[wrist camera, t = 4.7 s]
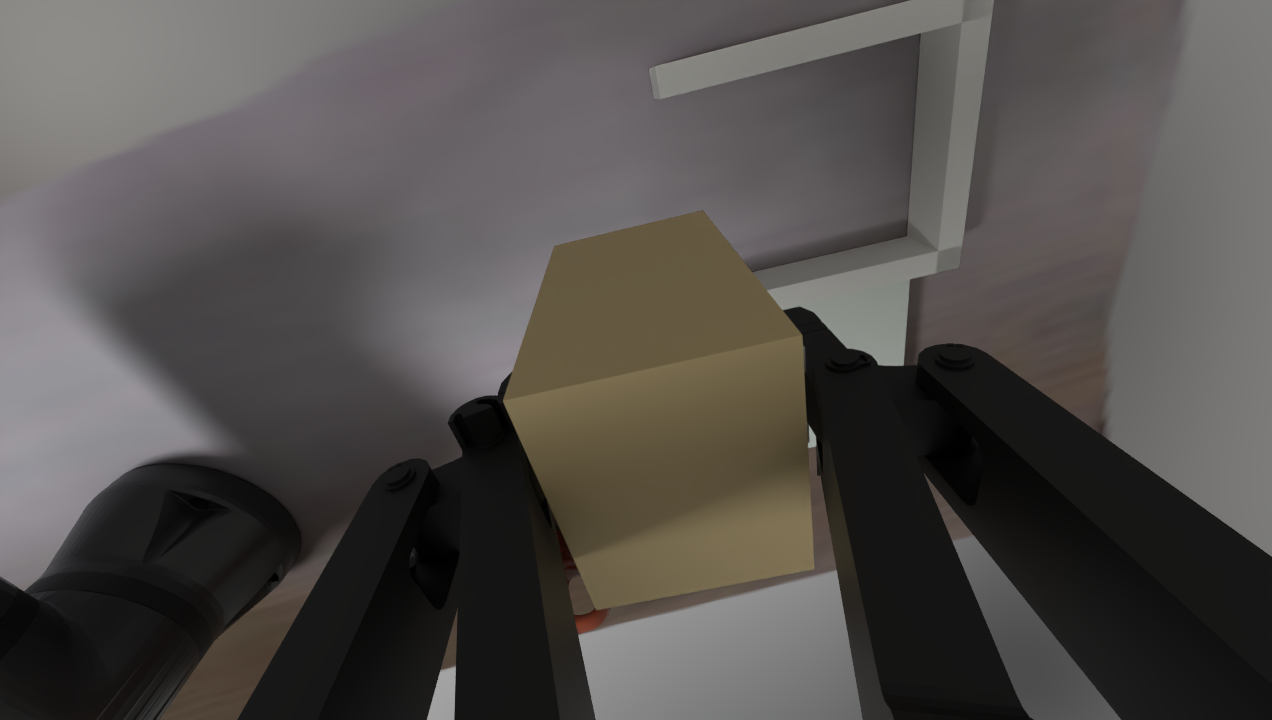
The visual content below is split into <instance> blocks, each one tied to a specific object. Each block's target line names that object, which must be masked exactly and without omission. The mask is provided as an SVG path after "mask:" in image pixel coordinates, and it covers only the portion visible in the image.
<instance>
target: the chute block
mask: <svg viewBox="0 0 1272 720" xmlns="http://www.w3.org/2000/svg"><path fill="white" fill-rule="evenodd" d="M503 403H504V405H505V407H506V410H507V412H508V414H509V416H510V418H511V421H512V423H513V425H514V427H515V430H516V432H517V434H518V436H519V439H520V441H521V443H522V445H523V447H524V450H525V452H526V454H527V456H528V459H529V461H530V463H531V465H532V468H533V470H534V472H535V474H536V476H537V479H538V481H539V483H540V485H541V488H542V490H543V492H544V494H545V497H546V499H547V501H548V503H549V505H550V508H551V510H552V512H553V514H554V517H555V519H556V521H557V523H558V526H559V528H560V530H561V532H562V534H563V537H564V539H565V541H566V543H567V546H568V548H569V550H570V552H571V555H572V557H573V559H574V561H575V564H576V566H577V568H578V570H579V572H580V575H581V577H582V579H583V581H584V584H585V586H586V588H587V590H588V593H589V595H590V597H591V599H592V601H593V604H594V606H595V608H596V610H601V609H606V608H611V607H616V606H622V605H627V604H632V603H638V602H643V601H648V600H654V599H659V598H664V597H669V596H675V595H680V594H685V593H691V592H696V591H701V590H706V589H712V588H717V587H722V586H728V585H733V584H738V583H744V582H749V581H754V580H759V579H765V578H770V577H775V576H781V575H786V574H791V573H797V572H802V571H807V570H812V569H814V551H813V532H812V513H811V493H810V474H809V455H808V435H807V416H806V396H805V377H804V358H803V338H802V334H801V333H800V331H799V330H798V329H797V328H796V326H795V325H794V324H793V323H792V321H791V320H790V319H789V318H788V316H787V315H786V314H785V313H784V311H783V310H782V309H781V308H780V306H779V305H778V304H777V303H776V301H775V300H774V299H773V298H772V296H771V295H770V294H769V293H768V291H767V290H766V289H765V288H764V286H763V285H762V284H761V283H760V281H759V280H758V279H757V278H756V276H755V275H754V274H753V273H752V271H751V270H750V269H749V268H748V266H747V265H746V264H745V263H744V261H743V260H742V259H741V258H740V256H739V255H738V254H737V253H736V251H735V250H734V249H733V248H732V246H731V245H730V244H729V243H728V241H727V240H726V239H725V237H724V236H723V235H722V234H721V232H720V231H719V230H718V229H717V227H716V226H715V225H714V224H713V222H712V221H711V220H710V219H709V217H708V216H707V215H706V214H705V212H704V211H703V210H702V211H698V212H694V213H690V214H685V215H681V216H677V217H673V218H669V219H665V220H660V221H656V222H652V223H648V224H644V225H640V226H635V227H631V228H627V229H623V230H619V231H615V232H610V233H606V234H602V235H598V236H594V237H590V238H585V239H581V240H577V241H573V242H569V243H565V244H560V245H556V246H554V249H553V252H552V255H551V258H550V261H549V264H548V267H547V270H546V273H545V276H544V279H543V282H542V285H541V288H540V291H539V294H538V297H537V300H536V303H535V306H534V309H533V312H532V315H531V318H530V321H529V324H528V327H527V330H526V333H525V336H524V339H523V342H522V345H521V348H520V351H519V354H518V357H517V360H516V363H515V366H514V369H513V372H512V375H511V378H510V381H509V384H508V387H507V390H506V393H505V396H504V399H503Z"/></svg>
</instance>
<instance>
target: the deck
mask: <svg viewBox="0 0 1272 720" xmlns="http://www.w3.org/2000/svg"><path fill="white" fill-rule="evenodd" d="M993 5H994V0H909V1H906V2H902V3H898V4H894V5H890V6H886V7H882V8H878V9H875V10H871V11H867V12H863V13H859V14H855V15H851V16H847V17H844V18H840V19H836V20H832V21H828V22H824V23H820V24H816V25H813V26H809V27H805V28H801V29H797V30H793V31H789V32H785V33H782V34H778V35H774V36H770V37H766V38H762V39H758V40H754V41H751V42H747V43H743V44H739V45H735V46H731V47H727V48H723V49H720V50H716V51H712V52H708V53H704V54H700V55H696V56H692V57H689V58H685V59H681V60H677V61H673V62H669V63H665V64H661V65H658V66H654V67H652V68H650V69H649V74H650V79H651V85H652V91H653V96H654V99H664V98H668V97H672V96H676V95H680V94H684V93H687V92H691V91H695V90H699V89H703V88H707V87H711V86H715V85H719V84H723V83H727V82H731V81H735V80H739V79H743V78H747V77H750V76H754V75H758V74H762V73H766V72H770V71H774V70H778V69H782V68H786V67H790V66H794V65H798V64H802V63H806V62H809V61H813V60H817V59H821V58H825V57H829V56H833V55H837V54H841V53H845V52H849V51H853V50H857V49H861V48H865V47H869V46H872V45H876V44H880V43H884V42H888V41H892V40H896V39H900V38H904V37H908V36H912V35H916V34H920V33H921V39H920V53H919V68H918V82H917V97H916V111H915V126H914V140H913V155H912V170H911V184H910V199H909V213H908V228H907V236H906V237H902V238H897V239H893V240H889V241H884V242H880V243H876V244H871V245H867V246H863V247H858V248H854V249H850V250H846V251H841V252H837V253H833V254H828V255H824V256H820V257H815V258H811V259H807V260H802V261H798V262H794V263H789V264H785V265H781V266H776V267H772V268H768V269H763V270H759V271H755V272H752V273H753V274H754V275H755V276H756V278H757V279H758V280H759V281H760V283H761V284H762V285H763V286H764V288H765V289H766V290H767V291H768V293H769V294H770V295H771V296H772V298H773V299H774V300H775V301H776V303H777V304H778V305H779V306H780V308H781V309H782V310H785V309H790V308H794V307H799V306H800V307H802V308H805V309H807V310H810V311H812V312H814V313H815V314H816V315H817V316H818V317H819V319H820V320H821V322H823V323H824V324H825V325H826V326H827V327H828V329H830V330H831V331H832V333H833V334H834V335H835V336H836V337H837V338H838V339H839V340H840V341H841V342H842V343H843V344H844V346H845V347H846V348H847V349H856V350H860V351H864V352H866V353H868V354H870V355H872V356H873V358H874V359H875V360H876V361H877V363H878V365H882V366H904V353H905V340H906V326H907V313H908V300H909V287H910V279H913V278H918V277H922V276H927V275H931V274H935V273H940V272H944V271H949V270H953V269H957V268H959V267H960V259H961V252H962V244H963V236H964V229H965V221H966V213H967V205H968V198H969V190H970V182H971V175H972V167H973V159H974V151H975V144H976V136H977V128H978V121H979V113H980V105H981V97H982V90H983V82H984V74H985V67H986V59H987V51H988V43H989V36H990V28H991V20H992V13H993ZM809 439H810V442H809V443H808V448H811V447H815V446H816V436H815V434H814V433H813V431H812V429H811V428H810V426H809Z"/></svg>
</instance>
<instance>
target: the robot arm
mask: <svg viewBox="0 0 1272 720" xmlns="http://www.w3.org/2000/svg"><path fill="white" fill-rule="evenodd" d="M783 311H784V313H785V314H786V315H787V316H788V318H789V319H790V320H791V321H792V323H793V324H794V325H795V326H796V328H797V329H798V330H799V331H800V333H801V334H802V338H803V358H804V377H805V396H806V416H807V435H808V443H809V442H810V439H809V426H810V428H811V429H812V431H813V433H814V434H815V436H816V452H817V475H821V481H822V487H823V493H824V498H825V504H826V510H827V516H828V521H829V527H830V533H831V539H832V545H833V550H834V556H835V562H836V568H837V573H838V579H839V585H840V591H841V596H842V602H843V607H844V614H845V619H846V625H847V631H848V636H849V643H850V648H851V654H852V659H853V666H854V671H855V677H856V683H857V688H858V694H859V700H860V706H861V712H862V717H863V720H1033V719H1032V718H1030V717H1029V716H1028V714H1027V713H1026V711H1025V710H1024V709H1023V707H1022V705H1021V703H1020V701H1019V699H1018V697H1017V695H1016V693H1015V690H1014V688H1013V685H1012V683H1011V681H1010V678H1009V676H1008V673H1007V671H1006V669H1005V666H1004V664H1003V662H1002V659H1001V657H1000V654H999V652H998V650H997V647H996V645H995V643H994V640H993V638H992V635H991V633H990V630H989V628H988V626H987V623H986V621H985V619H984V616H983V614H982V612H981V609H980V607H979V604H978V602H977V600H976V597H975V595H974V592H973V590H972V588H971V585H970V583H969V580H968V578H967V576H966V574H965V571H964V568H963V566H962V564H961V561H960V559H959V557H958V554H957V552H956V550H955V547H954V545H953V542H952V540H951V537H950V535H949V533H948V530H947V528H946V526H945V523H944V521H943V518H942V516H941V514H940V511H939V509H938V506H937V504H936V502H935V499H934V497H933V495H932V492H931V490H930V487H929V485H928V483H927V480H926V478H925V475H926V476H927V478H928V479H929V480H930V481H931V483H932V484H933V485H934V486H935V488H936V489H937V490H938V491H939V493H940V494H941V495H942V496H943V498H944V499H945V500H946V501H947V503H948V504H949V505H950V506H951V508H952V509H953V510H954V511H955V513H956V514H957V515H958V516H959V518H960V519H961V520H962V521H963V523H964V524H965V525H966V526H967V527H968V529H969V530H970V531H971V532H972V534H973V535H974V536H975V537H976V539H977V540H978V541H979V542H980V544H981V545H982V546H983V547H984V549H985V550H986V551H987V552H988V554H989V555H990V556H991V557H992V559H993V560H994V561H995V562H996V564H997V565H998V566H999V567H1000V569H1001V570H1002V571H1003V572H1004V574H1005V575H1006V576H1007V577H1008V579H1009V580H1010V581H1011V582H1012V583H1013V585H1014V586H1015V587H1016V589H1017V590H1018V591H1019V592H1020V594H1021V595H1022V596H1023V597H1024V598H1025V600H1026V601H1027V602H1028V604H1029V605H1030V606H1031V607H1032V609H1033V610H1034V611H1035V612H1036V614H1037V615H1038V616H1039V617H1040V619H1041V620H1042V621H1043V622H1044V624H1045V625H1046V626H1047V627H1048V629H1049V630H1050V631H1051V632H1052V633H1053V635H1054V636H1055V637H1056V639H1057V640H1058V641H1059V642H1060V644H1061V645H1062V646H1063V647H1064V648H1065V650H1066V651H1067V652H1068V654H1069V655H1070V656H1071V657H1072V659H1073V660H1074V661H1075V662H1076V664H1077V665H1078V666H1079V667H1080V668H1081V670H1082V671H1083V672H1084V674H1085V675H1086V676H1087V677H1088V679H1089V680H1090V681H1091V682H1092V683H1093V685H1094V686H1095V687H1096V689H1097V690H1098V691H1099V692H1100V694H1101V695H1102V696H1103V697H1104V699H1105V700H1106V701H1107V702H1108V703H1109V705H1110V706H1111V707H1112V708H1113V710H1114V711H1115V712H1116V714H1117V715H1118V716H1119V717H1120V719H1121V720H1272V557H1271V556H1270V555H1268V554H1267V553H1265V552H1264V551H1263V550H1261V549H1260V548H1259V547H1257V546H1256V545H1254V544H1253V543H1252V542H1250V541H1249V540H1247V539H1246V538H1245V537H1243V536H1242V535H1240V534H1239V533H1238V532H1236V531H1235V530H1234V529H1232V528H1231V527H1229V526H1228V525H1227V524H1225V523H1224V522H1222V521H1221V520H1220V519H1218V518H1217V517H1215V516H1214V515H1213V514H1211V513H1210V512H1208V511H1207V510H1206V509H1204V508H1203V507H1201V506H1200V505H1198V504H1197V503H1196V502H1194V501H1193V500H1192V499H1190V498H1189V497H1187V496H1186V495H1185V494H1183V493H1182V492H1180V491H1179V490H1178V489H1176V488H1175V487H1173V486H1172V485H1170V484H1169V483H1168V482H1166V481H1165V480H1164V479H1162V478H1161V477H1159V476H1158V475H1157V474H1155V473H1154V472H1152V471H1151V470H1150V469H1148V468H1147V467H1145V466H1144V465H1143V464H1141V463H1140V462H1138V461H1137V460H1136V459H1134V458H1133V457H1131V456H1130V455H1129V454H1127V453H1126V452H1124V451H1123V450H1122V449H1120V448H1119V447H1117V446H1116V445H1115V444H1113V443H1112V442H1110V441H1109V440H1108V439H1106V438H1105V437H1103V436H1102V435H1101V434H1099V433H1098V432H1096V431H1095V430H1094V429H1092V428H1091V427H1089V426H1088V425H1087V424H1085V423H1084V422H1082V421H1081V420H1080V419H1078V418H1077V417H1075V416H1074V415H1073V414H1071V413H1070V412H1068V411H1067V410H1066V409H1064V408H1063V407H1062V406H1060V405H1059V404H1057V403H1056V402H1055V401H1053V400H1052V399H1050V398H1049V397H1048V396H1046V395H1045V394H1043V393H1042V392H1041V391H1039V390H1038V389H1036V388H1035V387H1034V386H1032V385H1031V384H1029V383H1028V382H1027V381H1025V380H1024V379H1022V378H1021V377H1020V376H1018V375H1017V374H1015V373H1014V372H1013V371H1011V370H1010V369H1008V368H1007V367H1006V366H1004V365H1003V364H1001V363H1000V362H999V361H997V360H996V359H994V358H993V357H992V356H990V355H989V354H987V353H986V352H984V351H982V350H980V349H978V348H975V347H971V346H967V345H963V344H940V345H934V346H931V347H928V348H925V349H924V350H923V351H922V352H920V353H919V356H918V363H917V365H911V366H882V365H878V363H877V361H876V360H875V359H874V358H873V356H872V355H870V354H868V353H866V352H864V351H860V350H856V349H847V348H846V347H845V346H844V344H843V343H842V342H841V341H840V340H839V339H838V338H837V337H836V336H835V335H834V334H833V333H832V331H831V330H830V329H828V327H827V326H826V325H825V324H824V323H823V322H821V320H820V319H819V317H818V316H817V315H816V314H815V313H814V312H812V311H810V310H807V309H805V308H802V307H800V306H799V307H794V308H790V309H785V310H783ZM511 375H512V372H511V373H510V374H509V375H508V376H507V378H506V379H505V380H504V381H503V382H502V383H501V386H500V389H499V392H498V395H497V396H483V397H479V398H476V399H474V400H471V401H469V402H467V403H465V404H464V405H462V406H461V407H459V408H458V409H457V410H456V411H455V412H454V413H453V414H452V415H451V416H450V418H449V421H448V424H449V426H450V428H451V430H452V432H453V434H454V436H455V438H456V439H457V441H458V443H459V445H460V447H461V449H462V457H460V458H458V459H456V460H454V461H452V462H450V463H448V464H445V465H443V466H441V467H438V468H436V469H434V470H432V469H431V468H430V466H429V464H428V463H427V461H426V460H423V459H410V460H407V461H404V462H401V463H398V464H396V465H395V466H392V467H391V468H389V469H388V470H387V471H386V472H384V473H383V474H382V475H381V476H380V477H379V478H378V479H377V480H376V481H375V483H374V484H373V485H372V487H371V489H370V490H369V492H368V494H367V496H366V497H365V499H364V501H363V502H362V504H361V506H360V508H359V509H358V511H357V513H356V515H355V516H354V518H353V520H352V522H351V523H350V525H349V527H348V529H347V530H346V532H345V534H344V535H343V537H342V539H341V541H340V542H339V544H338V546H337V548H336V549H335V551H334V553H333V555H332V556H331V558H330V560H329V561H328V563H327V565H326V567H325V568H324V570H323V572H322V574H321V575H320V577H319V579H318V581H317V582H316V584H315V586H314V588H313V589H312V591H311V593H310V594H309V596H308V598H307V600H306V601H305V603H304V605H303V607H302V608H301V610H300V612H299V614H298V615H297V617H296V619H295V621H294V622H293V624H292V626H291V627H290V629H289V631H288V633H287V634H286V636H285V638H284V640H283V641H282V643H281V645H280V647H279V648H278V650H277V652H276V654H275V655H274V657H273V659H272V660H271V662H270V664H269V666H268V667H267V669H266V671H265V673H264V674H263V676H262V678H261V680H260V681H259V683H258V685H257V686H256V688H255V690H254V692H253V693H252V695H251V697H250V699H249V700H248V702H247V704H246V706H245V707H244V709H243V711H242V713H241V714H240V716H239V718H238V719H237V720H427V716H428V713H429V709H430V705H431V702H432V698H433V695H434V691H435V687H436V684H437V680H438V676H439V673H440V669H441V666H442V662H443V658H444V655H445V651H446V647H447V644H448V640H449V636H450V633H451V629H452V626H453V622H454V618H455V615H456V611H457V607H458V617H457V651H456V686H455V720H596V719H595V715H594V710H593V705H592V700H591V695H590V690H589V686H588V681H587V676H586V671H585V666H584V661H583V657H582V652H581V647H580V643H579V637H578V632H577V628H576V623H575V618H574V613H573V608H572V604H571V599H570V594H569V589H568V584H567V579H566V575H565V570H564V565H563V560H562V555H561V551H560V546H559V541H558V536H557V531H556V526H555V522H554V517H553V512H552V510H551V508H550V505H549V503H548V501H547V499H546V497H545V494H544V492H543V490H542V488H541V485H540V483H539V481H538V479H537V476H536V474H535V472H534V470H533V468H532V465H531V463H530V461H529V459H528V456H527V454H526V452H525V450H524V447H523V445H522V443H521V441H520V439H519V436H518V434H517V432H516V430H515V427H514V425H513V423H512V421H511V418H510V416H509V414H508V412H507V410H506V407H505V405H504V403H503V399H504V396H505V393H506V390H507V387H508V384H509V381H510V378H511ZM924 474H925V475H924ZM300 547H301V541H300V535H299V532H298V529H297V527H296V525H295V523H294V521H293V519H292V518H291V516H290V515H289V514H288V513H287V512H286V510H285V509H284V508H283V507H282V506H281V505H280V504H279V503H278V502H276V501H275V500H274V499H273V498H271V497H270V496H269V495H267V494H266V493H264V492H263V491H261V490H260V489H258V488H256V487H255V486H253V485H251V484H249V483H247V482H245V481H243V480H241V479H238V478H236V477H234V476H231V475H228V474H225V473H222V472H219V471H215V470H212V469H208V468H203V467H198V466H191V465H181V464H161V465H151V466H146V467H142V468H138V469H135V470H132V471H130V472H128V473H126V474H124V475H122V476H121V477H119V478H118V479H117V480H116V481H114V482H113V483H112V484H111V485H109V486H108V487H107V488H106V489H104V490H103V491H102V492H101V493H99V494H98V495H97V496H96V497H95V498H94V499H93V500H92V501H91V502H90V503H89V504H88V505H87V507H86V508H85V510H84V511H83V513H82V515H81V516H80V518H79V519H78V521H77V522H76V524H75V525H74V527H73V528H72V530H71V532H70V533H69V535H68V536H67V538H66V539H65V541H64V543H63V544H62V546H61V547H60V549H59V551H58V552H57V554H56V555H55V557H54V558H53V560H52V562H51V563H50V565H49V566H48V568H47V570H46V571H45V572H44V574H43V575H42V576H41V577H40V578H39V579H38V580H37V581H36V582H35V583H33V584H32V585H31V586H30V587H29V588H27V589H26V590H25V591H22V590H21V589H19V588H17V587H16V586H15V585H13V584H12V583H10V582H8V581H7V580H5V579H3V578H2V577H0V720H160V718H161V717H162V715H163V714H164V713H165V711H166V710H167V708H168V707H169V705H170V704H171V702H172V701H173V700H174V698H175V697H176V695H177V694H178V692H179V691H180V690H181V688H182V687H183V685H184V684H185V682H186V681H187V679H188V678H189V677H190V675H191V674H192V672H193V671H194V669H195V668H196V666H197V665H198V663H199V662H200V661H201V659H202V658H203V656H204V655H205V654H206V652H207V651H208V649H209V648H210V647H211V645H212V644H213V642H214V641H215V640H216V639H217V638H218V637H219V636H220V635H221V634H222V633H223V632H225V631H226V630H227V629H228V628H229V627H230V626H232V625H233V624H234V623H235V622H236V621H237V620H239V619H240V618H241V617H242V616H243V615H244V614H246V613H247V612H248V611H249V610H250V609H251V608H253V607H254V606H255V605H256V604H257V603H258V602H260V601H261V600H262V599H263V598H264V597H266V596H267V595H268V594H269V593H270V592H271V591H273V590H274V589H275V588H276V587H277V586H278V585H279V584H280V583H281V581H282V580H283V579H284V577H285V576H286V574H287V573H288V571H289V570H290V568H291V567H292V565H293V564H294V562H295V561H296V559H297V557H298V555H299V552H300ZM411 555H412V556H411ZM410 556H411V558H410Z"/></svg>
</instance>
